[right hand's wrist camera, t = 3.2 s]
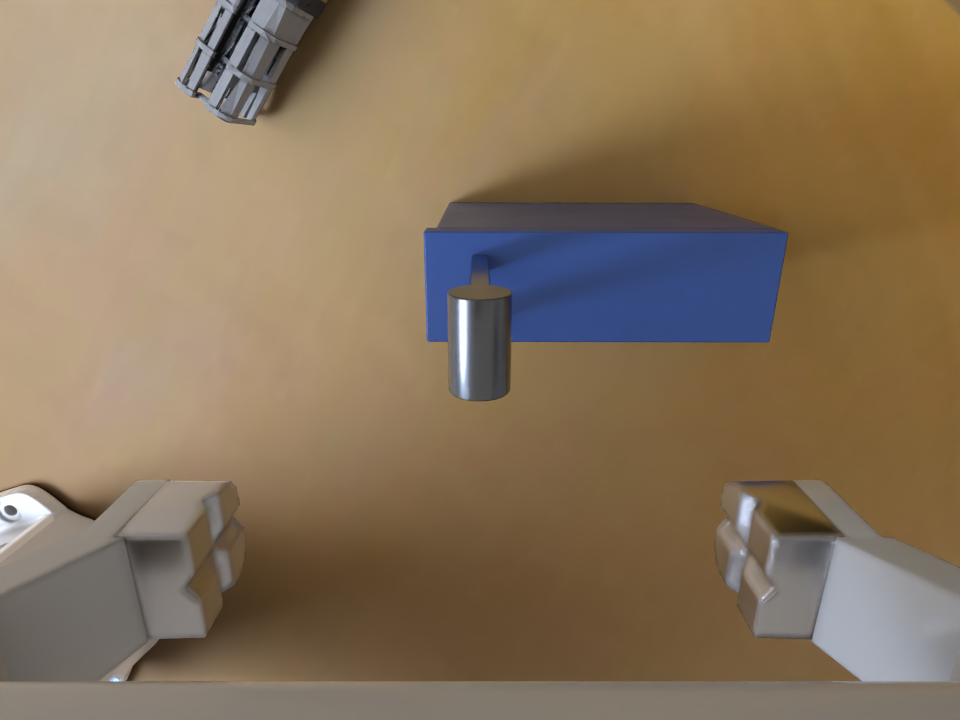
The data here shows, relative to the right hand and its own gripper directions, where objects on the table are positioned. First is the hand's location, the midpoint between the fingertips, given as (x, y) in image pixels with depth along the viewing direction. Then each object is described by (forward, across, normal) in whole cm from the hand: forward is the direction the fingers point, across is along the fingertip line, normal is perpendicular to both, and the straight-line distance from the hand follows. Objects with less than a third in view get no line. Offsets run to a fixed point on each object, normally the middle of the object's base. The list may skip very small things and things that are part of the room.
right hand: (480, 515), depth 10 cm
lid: (+17, -5, 0) cm, 18 cm away
